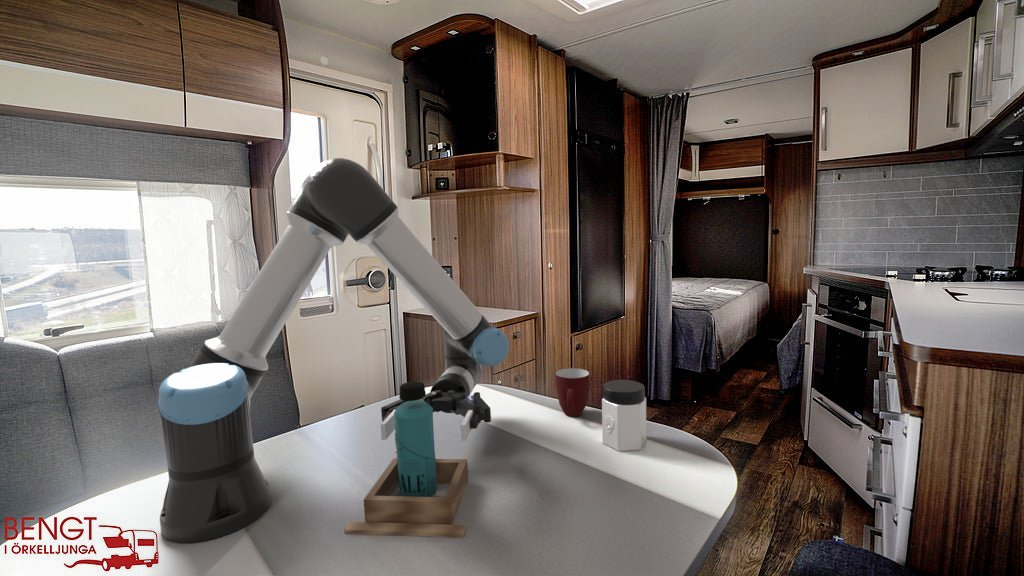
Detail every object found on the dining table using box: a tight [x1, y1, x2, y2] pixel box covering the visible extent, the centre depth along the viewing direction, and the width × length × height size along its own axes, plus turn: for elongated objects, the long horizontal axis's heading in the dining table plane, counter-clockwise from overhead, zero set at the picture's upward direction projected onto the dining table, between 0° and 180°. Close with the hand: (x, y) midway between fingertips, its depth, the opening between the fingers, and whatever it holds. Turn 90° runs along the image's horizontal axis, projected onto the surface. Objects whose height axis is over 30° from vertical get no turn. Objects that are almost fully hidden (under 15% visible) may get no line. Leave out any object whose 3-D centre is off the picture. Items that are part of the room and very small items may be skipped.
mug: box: [554, 367, 591, 418], centre depth 113 cm, size 11×8×10 cm
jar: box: [601, 379, 647, 452], centre depth 98 cm, size 9×8×12 cm
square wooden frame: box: [343, 458, 469, 538], centre depth 78 cm, size 18×16×4 cm
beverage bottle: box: [393, 381, 438, 497], centre depth 78 cm, size 6×7×20 cm
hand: (422, 432), depth 79 cm, fingers open, 13 cm apart
